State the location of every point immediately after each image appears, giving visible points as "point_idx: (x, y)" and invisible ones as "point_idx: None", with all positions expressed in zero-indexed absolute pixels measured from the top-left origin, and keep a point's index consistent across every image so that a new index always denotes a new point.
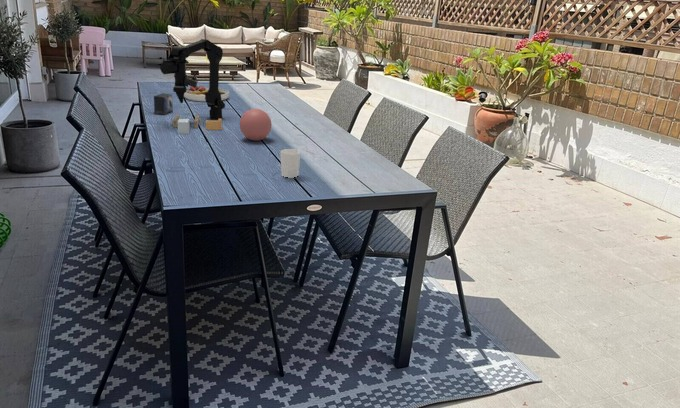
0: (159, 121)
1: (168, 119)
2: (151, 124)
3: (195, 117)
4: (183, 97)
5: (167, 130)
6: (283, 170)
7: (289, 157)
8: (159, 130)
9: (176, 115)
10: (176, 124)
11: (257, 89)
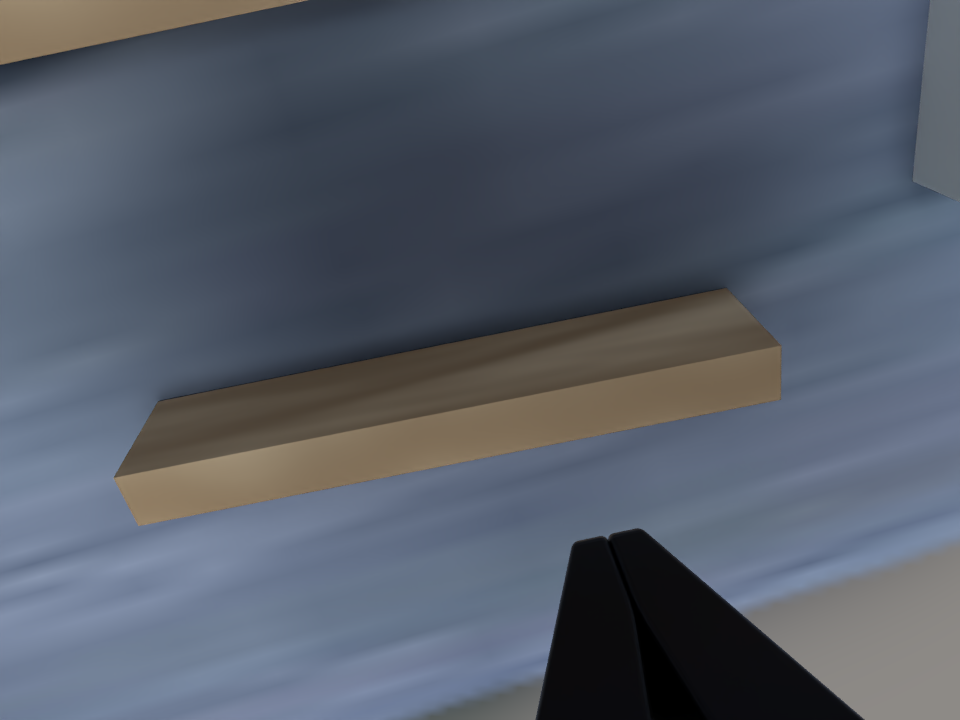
0: (320, 641)
1: (119, 585)
2: None
3: (250, 10)
4: (853, 713)
5: (932, 364)
6: None
7: None
8: (927, 466)
9: (216, 500)
10: (733, 315)
11: None
